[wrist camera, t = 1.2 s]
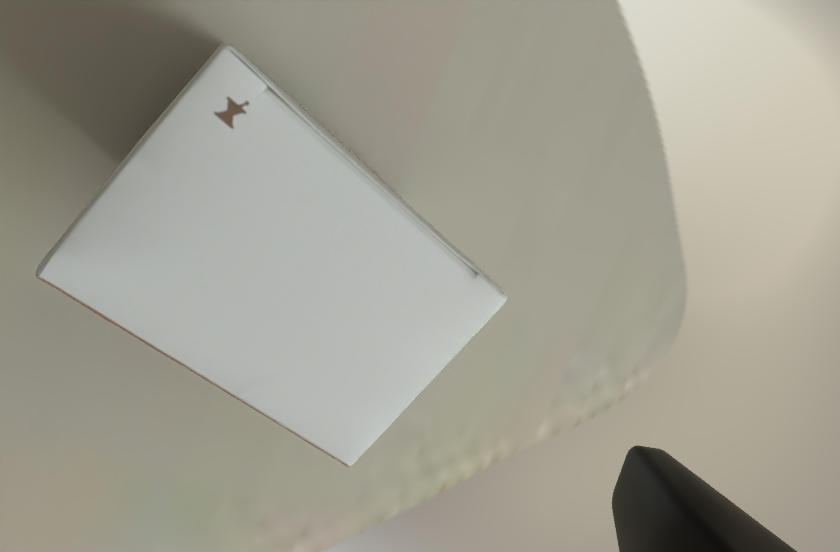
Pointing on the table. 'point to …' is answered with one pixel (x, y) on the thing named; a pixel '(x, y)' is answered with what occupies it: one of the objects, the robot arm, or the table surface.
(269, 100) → the small box
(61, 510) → the table surface
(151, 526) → the table surface
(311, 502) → the table surface
